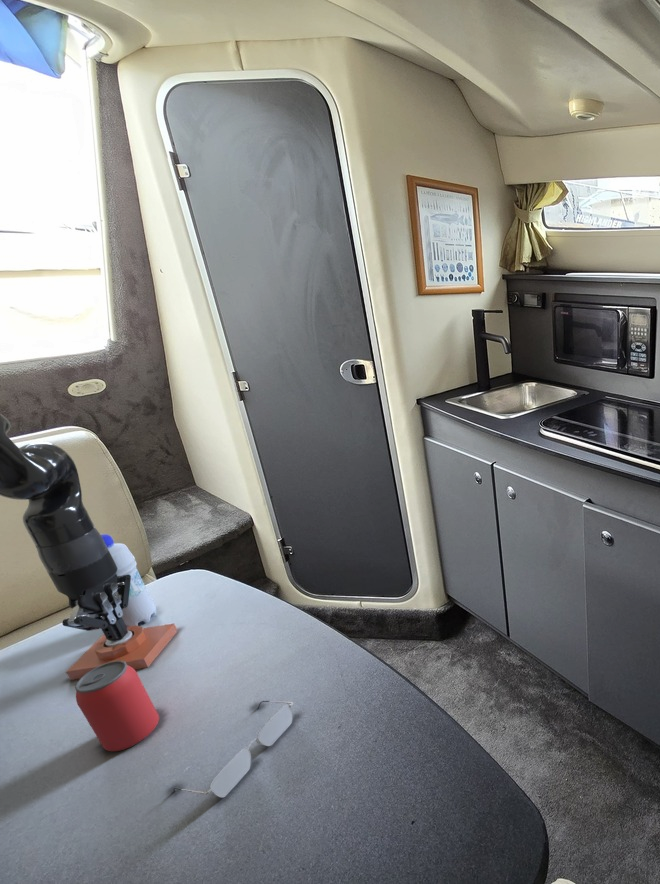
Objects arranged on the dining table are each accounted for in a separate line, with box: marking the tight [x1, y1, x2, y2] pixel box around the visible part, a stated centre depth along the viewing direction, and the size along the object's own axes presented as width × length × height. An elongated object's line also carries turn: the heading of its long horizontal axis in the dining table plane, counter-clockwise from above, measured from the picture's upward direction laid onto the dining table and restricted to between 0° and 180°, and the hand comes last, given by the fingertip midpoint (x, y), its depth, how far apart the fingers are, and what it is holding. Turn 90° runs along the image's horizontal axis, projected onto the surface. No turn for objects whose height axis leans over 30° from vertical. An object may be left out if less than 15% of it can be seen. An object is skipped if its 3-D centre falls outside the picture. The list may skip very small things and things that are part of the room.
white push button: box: [105, 631, 133, 648], centre depth 90 cm, size 4×4×2 cm
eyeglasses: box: [172, 700, 294, 798], centre depth 72 cm, size 14×8×4 cm, turn 166°
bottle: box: [100, 534, 157, 627], centre depth 96 cm, size 7×7×20 cm
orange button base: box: [65, 623, 178, 681], centre depth 90 cm, size 12×9×4 cm
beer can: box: [74, 661, 160, 752], centre depth 74 cm, size 7×7×12 cm
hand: (119, 637), depth 90 cm, fingers closed
